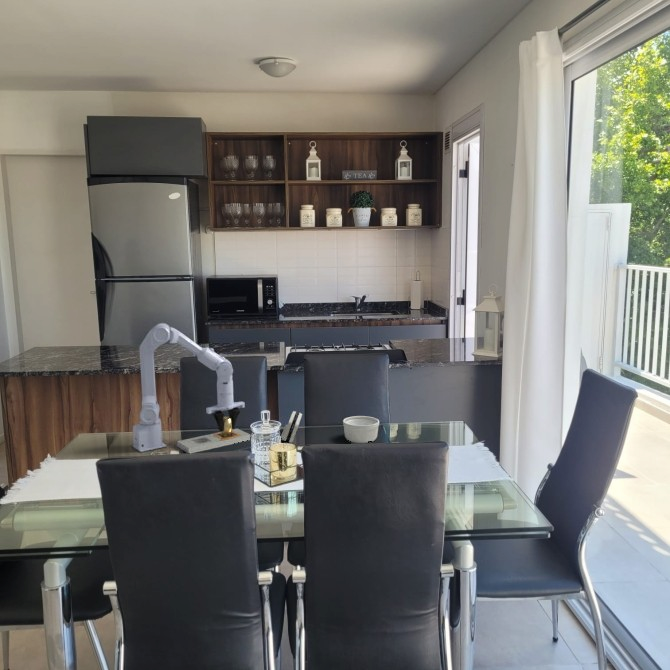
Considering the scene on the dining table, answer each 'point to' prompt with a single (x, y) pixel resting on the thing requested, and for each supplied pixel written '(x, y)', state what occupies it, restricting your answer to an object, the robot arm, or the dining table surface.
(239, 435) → the grey rectangular board
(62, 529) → the dining table surface
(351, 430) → the ramekin
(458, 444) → the dining table surface
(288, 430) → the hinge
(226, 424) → the peg
